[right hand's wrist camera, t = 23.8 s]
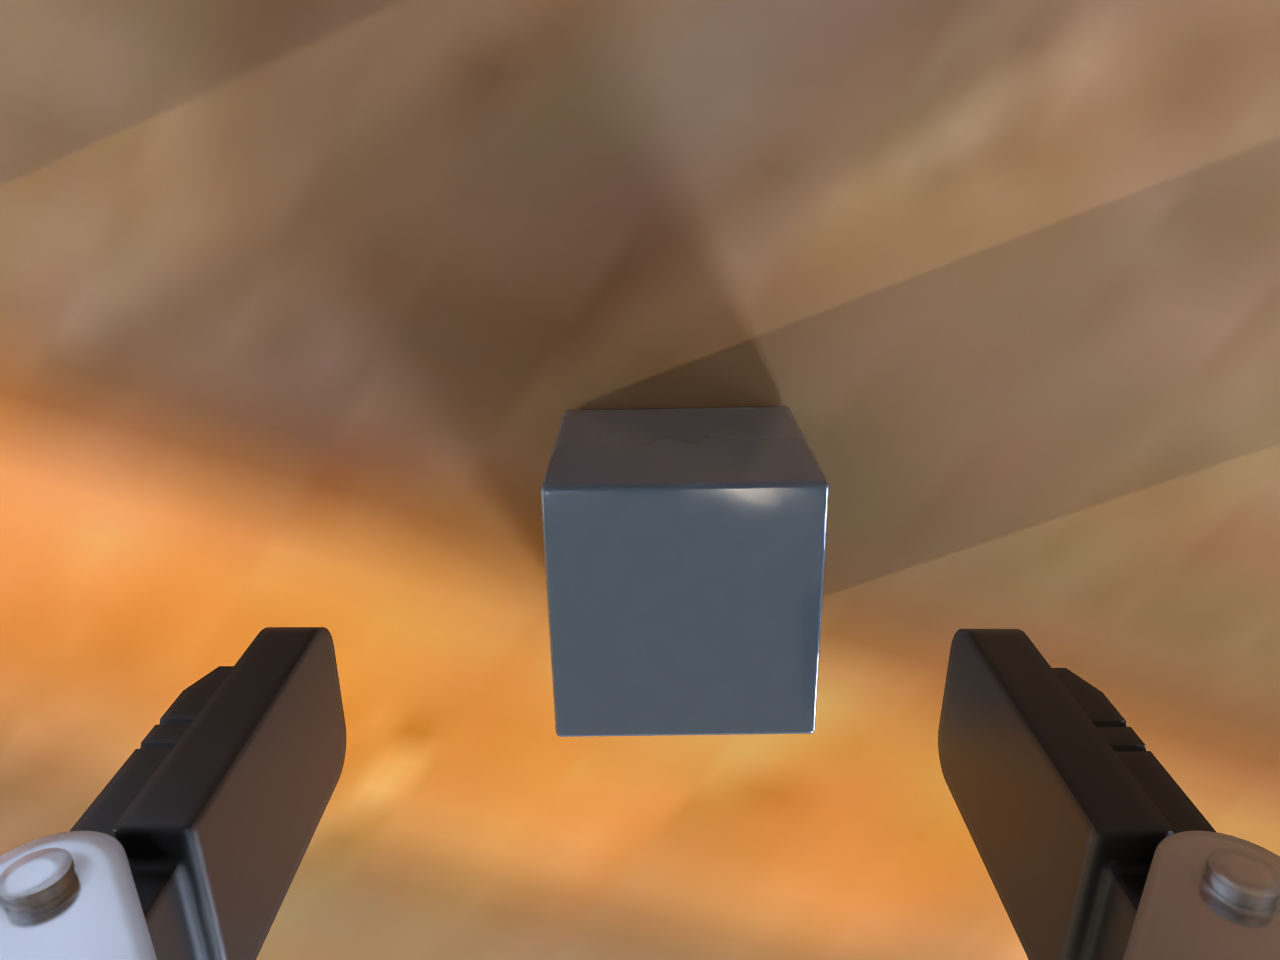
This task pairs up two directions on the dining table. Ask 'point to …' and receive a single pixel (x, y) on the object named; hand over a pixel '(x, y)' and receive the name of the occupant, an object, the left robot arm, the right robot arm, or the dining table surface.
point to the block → (684, 572)
